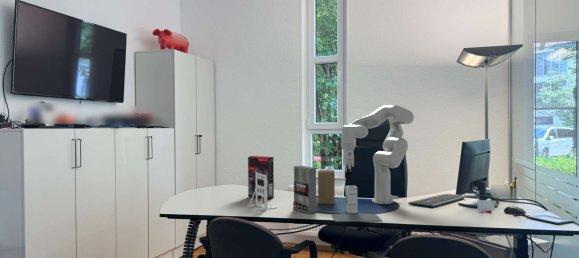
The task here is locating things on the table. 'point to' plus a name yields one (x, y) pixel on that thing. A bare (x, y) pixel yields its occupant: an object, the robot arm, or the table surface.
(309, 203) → the grey labelled carton
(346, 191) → the syrup box
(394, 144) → the robot arm
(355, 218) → the mat
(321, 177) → the block
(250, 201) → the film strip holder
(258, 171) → the graphics card box
